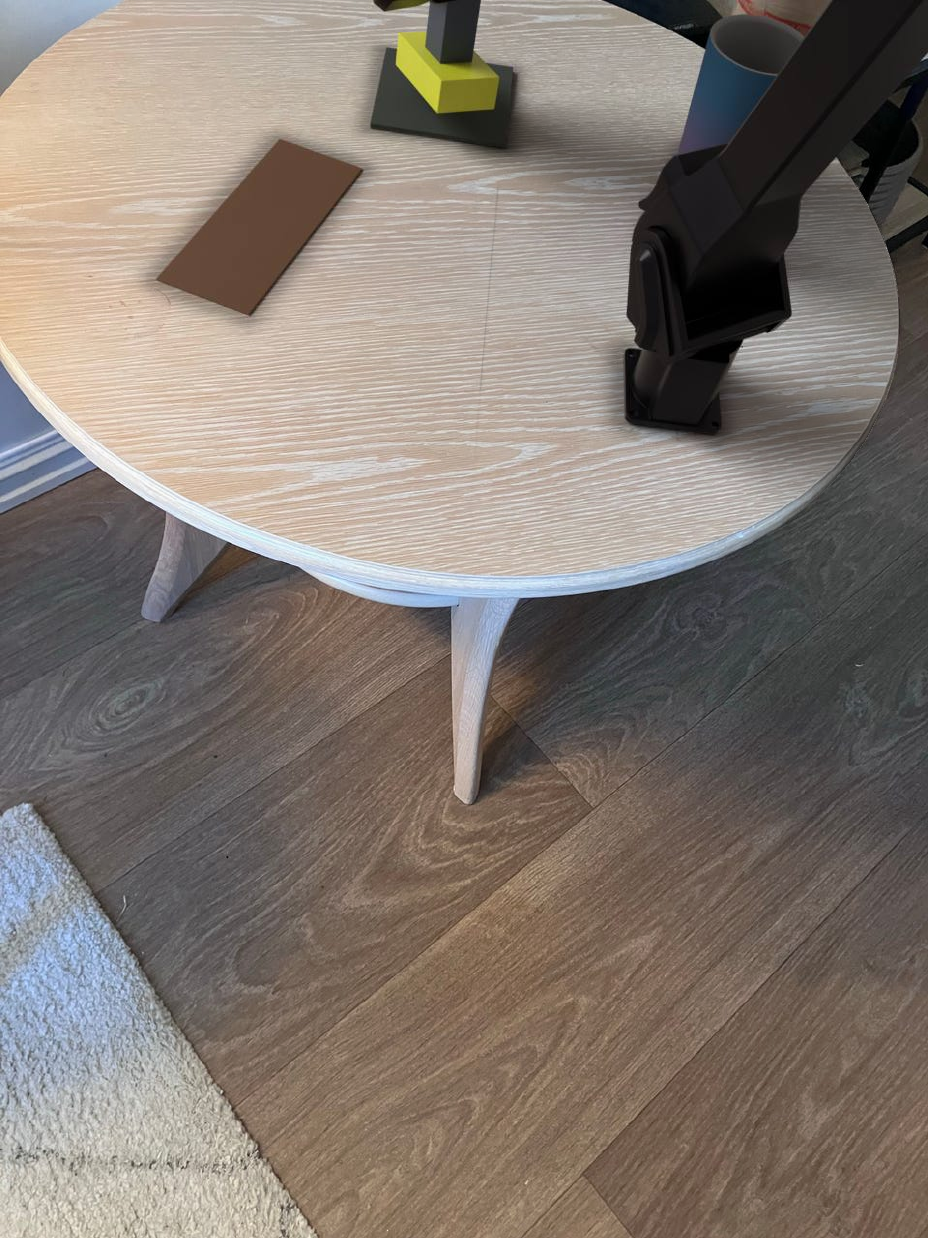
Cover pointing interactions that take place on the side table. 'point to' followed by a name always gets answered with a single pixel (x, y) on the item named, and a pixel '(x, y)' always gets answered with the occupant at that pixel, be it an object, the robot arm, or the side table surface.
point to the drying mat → (414, 115)
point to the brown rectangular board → (260, 227)
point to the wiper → (448, 60)
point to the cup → (735, 76)
